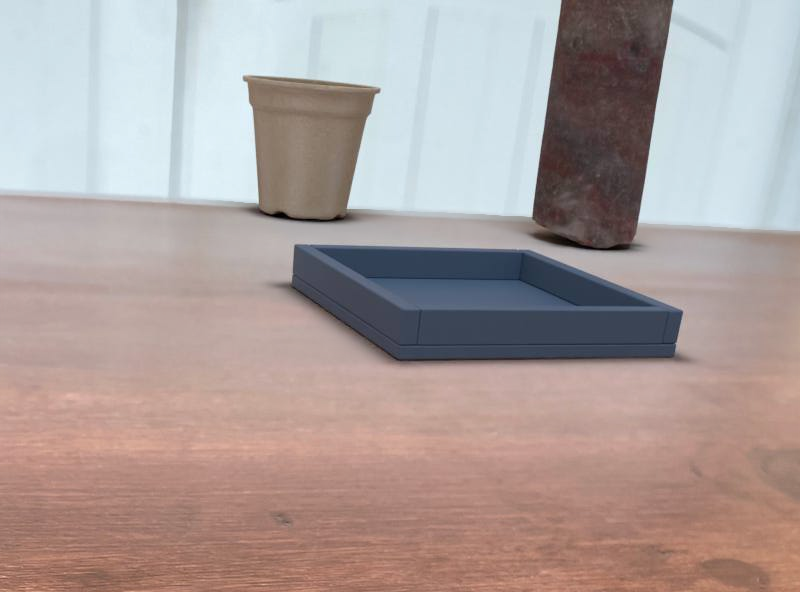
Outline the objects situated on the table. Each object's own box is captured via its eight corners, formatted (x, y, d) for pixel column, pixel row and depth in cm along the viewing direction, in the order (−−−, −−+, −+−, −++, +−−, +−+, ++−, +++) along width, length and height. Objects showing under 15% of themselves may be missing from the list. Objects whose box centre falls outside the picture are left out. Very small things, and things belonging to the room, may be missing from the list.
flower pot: (313, 202, 91) (322, 77, 87) (395, 223, 84) (409, 89, 80) (211, 205, 85) (215, 72, 81) (290, 227, 79) (299, 84, 75)
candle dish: (524, 288, 66) (529, 249, 65) (674, 357, 54) (684, 310, 53) (291, 285, 61) (293, 243, 60) (397, 360, 49) (403, 308, 48)
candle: (507, 236, 83) (555, -99, 74) (551, 227, 88) (601, -85, 79) (609, 253, 79) (673, -97, 70) (649, 244, 85) (713, -82, 76)
